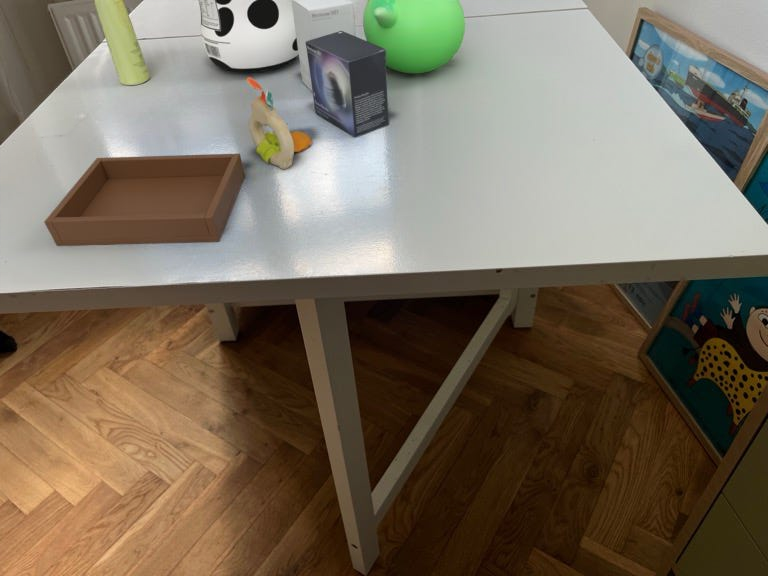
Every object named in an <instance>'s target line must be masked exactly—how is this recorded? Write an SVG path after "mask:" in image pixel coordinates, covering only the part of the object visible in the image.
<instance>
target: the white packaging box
mask: <svg viewBox="0 0 768 576" xmlns="http://www.w3.org/2000/svg"><path fill="white" fill-rule="evenodd" d="M291 1H292V8H293V16H294V23H295V30H296V38H297V45H298V53H299V56H298V60H299V67H300V74H301V81H302V83H303V84H304V85H305V86H306V87H307V88H308V89H309V90H310V91H311V92H312V93H313V91H312V84H311V76H310V70H309V63H308V56H307V48H306V43H305V42H306V41H309V40H312V39H316V38H319V37H322V36H325V35H329V34H332V33H335V32H339V31H344V32H346V33H348V34H351V35H353V36H356V35H357V34H356V21H355V20H356V19H355V5H354V4H355V3H354V2H353V1H352V0H291ZM356 37H357V36H356Z"/></svg>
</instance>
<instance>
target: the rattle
mask: <svg viewBox="0 0 768 576" xmlns="http://www.w3.org/2000/svg"><path fill="white" fill-rule="evenodd" d="M246 81H247V83H248V85H250V86H251V87H252V88H253V89H255V90H258V91H260V92H261V95H259V96H257V97H255V98H254V99H253V100H252V102H251V112H252V113H251V115H250V117H249V120H248V121H249V122H248V129H249V133H250V138H251V139H252V142H253V145H255V147H256V150H255V152H256V153H257V154H258V155H259V156H260V157H261V159H262V160H263V161H264V162H266V163H267V164H268V165H270V164H271V165H273V166H276V167H278V168H280V169H282V170H287V169H288V168H290V167H291V166H292V165H293V158H294V156H295V153H299V152H301V151H304V150H306V149H308V148H309V147H310V146H311V144H312V138H311V136H310V135H308V134H307V133H304V132H302V131H300V130H296V131H292V132H290V129H289V127H288V126H287V123H286V122H285V121H284V120H283V119H282V118H281V116H280V115H279V114H278V112H277V110H276V108H275V106H274V100H273V96H272V95H273V94H272V91H271V90H270V89H269V88H267V89H266V92H265V91H264V90H263V88H262V86H261V85H260V84H259V83H258V82H257V81H256V80H255V79H253V78H252V77H250V76H249V77H247V78H246ZM264 126H265V127H269V128H270V129H271V130H272V131H273V132H270V131H268V130H267V131H266V132H265V131H264Z"/></svg>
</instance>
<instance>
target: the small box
mask: <svg viewBox="0 0 768 576" xmlns="http://www.w3.org/2000/svg"><path fill="white" fill-rule="evenodd" d="M305 43H306V48H307V56H308V63H309V70H310V76H311V84H312V91H313V92H312V91H311V92H312V98H313V105H314V113H315V114H316V115H318V116H319V117H321V118H323V119H324V120H326V121H327V122H329V123H331V124H332V125H334V126H336V127H337V128H339V129H341V130H342V131H344V132H345V133H347V134H349V135H350V136H352V137H353V138H357V137H359V136H362V135H365V134H367V133H370V132H373V131H376V130H379V129H381V128H384V127H386V126H389V125H390V117H389V116H390V115H389V102H388V99H389V98H388V81H387V80H388V79H387V66H386V49H385V48H382V47H380V46H377V45H375V44H373V43H370V42H368V41H367V40H366V39H363V38H361V37H358V36H353V35H351V34H348V33H346V32H344V31H339V32H335V33H332V34H329V35H325V36H322V37H319V38H316V39H312V40H309V41H306V42H305Z"/></svg>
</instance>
